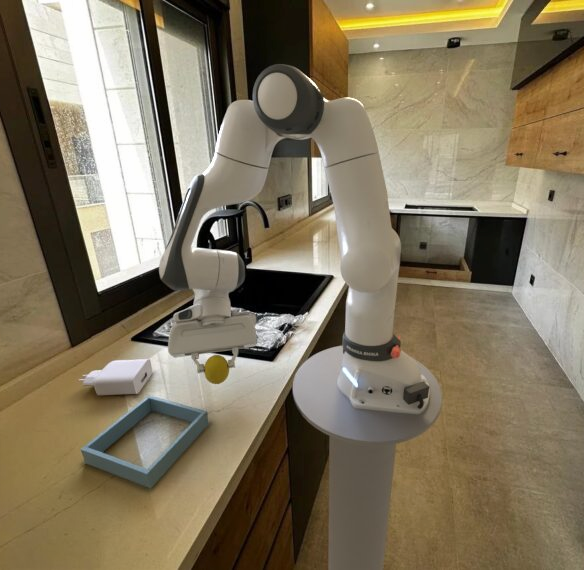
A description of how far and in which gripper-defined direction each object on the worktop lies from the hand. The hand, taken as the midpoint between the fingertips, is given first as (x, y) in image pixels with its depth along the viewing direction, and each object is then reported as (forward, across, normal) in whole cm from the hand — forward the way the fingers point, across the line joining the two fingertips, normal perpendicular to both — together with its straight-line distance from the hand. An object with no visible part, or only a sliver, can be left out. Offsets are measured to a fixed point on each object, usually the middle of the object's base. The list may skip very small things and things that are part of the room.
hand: (216, 370), depth 76 cm
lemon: (+3, 0, -4) cm, 5 cm away
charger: (-3, +25, -13) cm, 29 cm away
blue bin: (+13, +13, +3) cm, 18 cm away
